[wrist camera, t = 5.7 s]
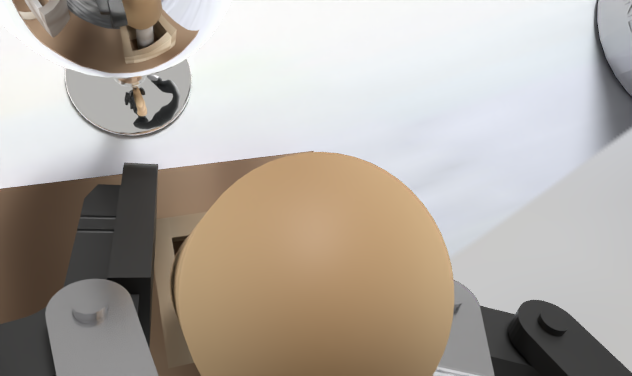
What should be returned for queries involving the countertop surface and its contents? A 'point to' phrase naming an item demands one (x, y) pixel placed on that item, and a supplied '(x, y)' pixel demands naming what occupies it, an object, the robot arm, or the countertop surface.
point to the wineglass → (119, 53)
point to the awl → (315, 275)
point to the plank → (60, 230)
